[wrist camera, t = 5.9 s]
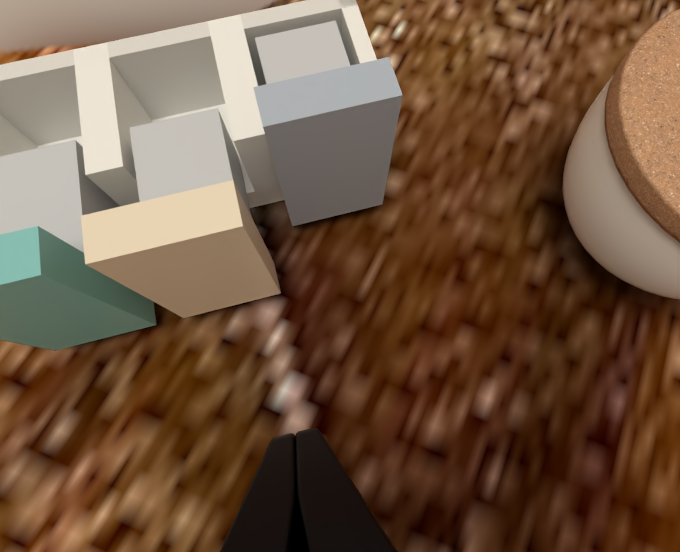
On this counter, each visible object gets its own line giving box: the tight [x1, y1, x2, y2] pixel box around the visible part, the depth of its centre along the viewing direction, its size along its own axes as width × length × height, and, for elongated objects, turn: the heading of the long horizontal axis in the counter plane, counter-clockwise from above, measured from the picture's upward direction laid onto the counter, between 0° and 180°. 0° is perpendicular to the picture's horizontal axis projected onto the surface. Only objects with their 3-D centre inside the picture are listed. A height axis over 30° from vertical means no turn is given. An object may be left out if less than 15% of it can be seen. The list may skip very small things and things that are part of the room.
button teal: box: [0, 140, 156, 351], centre depth 16 cm, size 7×4×8 cm, turn 15°
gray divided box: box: [0, 0, 377, 208], centre depth 20 cm, size 6×17×6 cm, turn 105°
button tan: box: [81, 108, 281, 318], centre depth 16 cm, size 7×4×8 cm, turn 15°
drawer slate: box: [253, 20, 403, 226], centre depth 18 cm, size 7×4×8 cm, turn 15°
